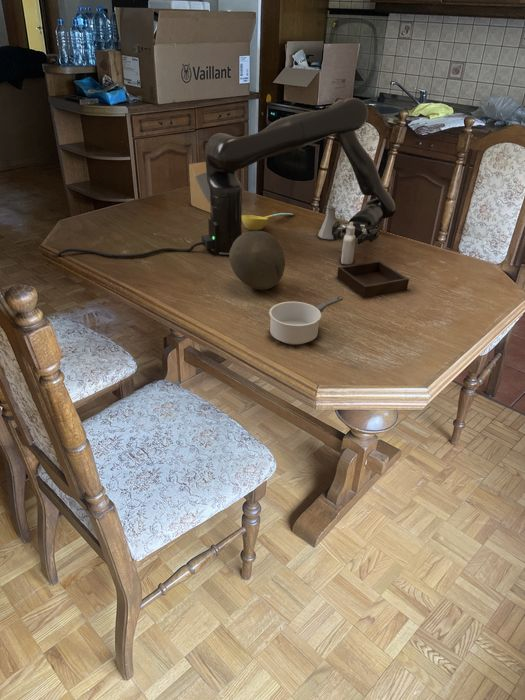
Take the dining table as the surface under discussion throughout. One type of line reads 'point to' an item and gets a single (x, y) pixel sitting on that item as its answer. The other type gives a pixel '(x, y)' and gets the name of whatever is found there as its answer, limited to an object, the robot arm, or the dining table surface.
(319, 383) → the dining table surface
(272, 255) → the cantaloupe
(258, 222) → the ladle
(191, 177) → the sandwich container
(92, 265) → the dining table surface
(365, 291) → the tray
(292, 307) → the saucepan
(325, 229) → the flask
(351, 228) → the eye dropper bottle
